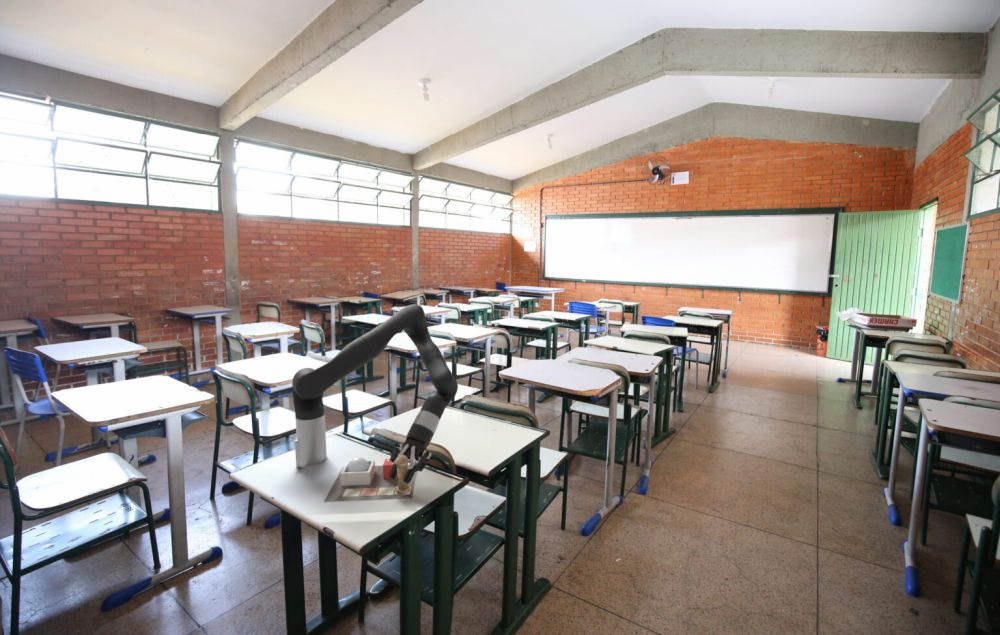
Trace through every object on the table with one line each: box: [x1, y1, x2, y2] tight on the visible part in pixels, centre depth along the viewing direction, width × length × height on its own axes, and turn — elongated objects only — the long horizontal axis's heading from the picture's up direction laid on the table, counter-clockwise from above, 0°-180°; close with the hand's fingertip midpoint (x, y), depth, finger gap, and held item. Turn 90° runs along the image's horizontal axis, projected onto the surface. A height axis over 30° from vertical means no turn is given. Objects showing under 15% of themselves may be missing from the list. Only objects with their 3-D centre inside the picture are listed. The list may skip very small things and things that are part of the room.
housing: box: [339, 459, 376, 486], centre depth 148 cm, size 9×9×4 cm
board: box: [323, 464, 418, 503], centre depth 146 cm, size 25×22×2 cm
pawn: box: [396, 455, 410, 494], centre depth 140 cm, size 4×4×11 cm
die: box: [382, 458, 398, 479], centre depth 150 cm, size 4×4×4 cm
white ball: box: [348, 456, 369, 472], centre depth 148 cm, size 6×6×6 cm
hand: (398, 480), depth 138 cm, fingers open, 5 cm apart
